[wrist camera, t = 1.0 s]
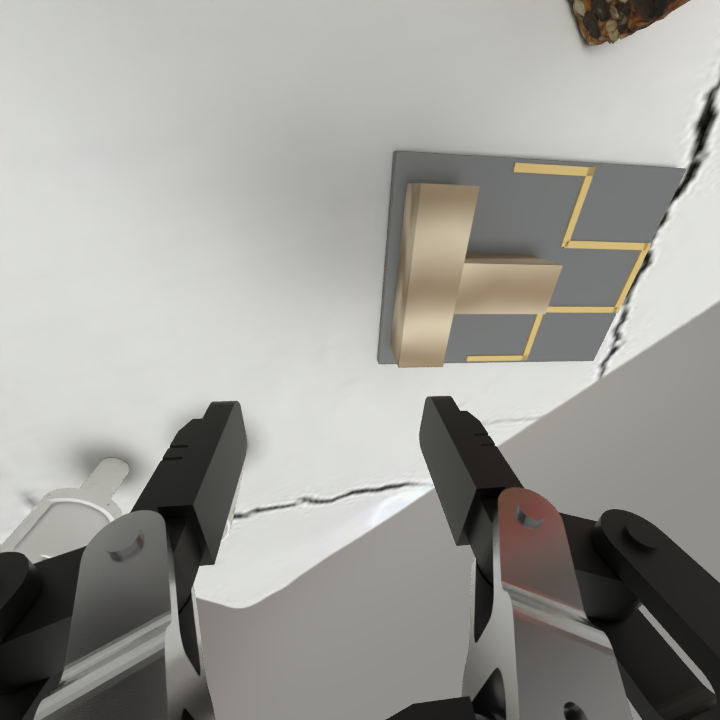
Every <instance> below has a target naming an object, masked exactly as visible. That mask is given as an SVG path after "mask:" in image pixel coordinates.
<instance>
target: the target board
mask: <svg viewBox="0 0 720 720" xmlns="http://www.w3.org/2000/svg"><path fill="white" fill-rule="evenodd" d="M685 171H686V169H683V168H667V167H651V166H634V165H618V164H602V163H586V162H569V161H553V160H537V159H521V158H505V157H488V156H472V155H456V154H440V153H423V152H407V151H395V152H394V158H393V170H392V182H391V195H390V207H389V220H388V232H387V245H386V257H385V269H384V282H383V294H382V307H381V319H380V332H379V344H378V356H377V360H378V363H379V364H397V362H396V360H395V357H394V355H393V352H392V350H391V347H390V344H391V334H392V324H393V314H394V304H395V295H396V285H397V275H398V265H399V255H400V246H401V236H402V226H403V216H404V207H405V197H406V187H407V183H427V184H447V185H467V186H480V188H479V193H478V198H477V203H476V208H475V212H474V217H473V222H472V227H471V232H470V237H469V242H468V246H467V251H466V253H470V254H510V255H534V256H537V257H540V258H543V259H546V260H549V261H551V262H554V263H557V264H560V265H563V267H562V270H561V272H560V275H559V278H558V281H557V283H556V286H555V289H554V292H553V294H552V297H551V300H550V303H549V305H548V308H547V311H546V314H454V315H453V319H452V324H451V329H450V334H449V339H448V344H447V349H446V353H445V358H444V363H487V362H549V361H593V360H594V358H595V356H596V354H597V352H598V350H599V348H600V346H601V344H602V342H603V340H604V338H605V336H606V334H607V332H608V330H609V328H610V325H611V323H612V321H613V319H614V317H615V315H616V313H618V311H619V309H620V307H621V305H622V303H623V301H624V299H625V297H626V295H627V293H628V291H629V289H630V287H631V285H632V282H633V280H634V278H635V276H636V274H637V272H638V270H639V268H640V266H641V264H642V262H643V260H644V258H645V256H646V254H647V252H648V250H649V248H650V246H651V241H652V239H653V237H654V235H655V233H656V231H657V229H658V227H659V224H660V222H661V220H662V218H663V216H664V214H665V212H666V210H667V208H668V206H669V204H670V202H671V200H672V198H673V196H674V194H675V191H676V189H677V187H678V185H679V183H680V181H681V179H682V177H683V175H684V173H685Z"/></svg>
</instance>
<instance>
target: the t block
mask: <svg viewBox="0 0 720 720" xmlns="http://www.w3.org/2000/svg"><path fill="white" fill-rule="evenodd" d="M479 188H480V186H467V185H447V184H427V183H407V187H406V197H405V207H404V216H403V226H402V236H401V246H400V255H399V265H398V275H397V285H396V295H395V304H394V314H393V324H392V334H391V344H390V347H391V350H392V352H393V355H394V357H395V360H396V362H397V365H398V367H399V368H406V367H443V363H444V358H445V353H446V349H447V344H448V339H449V334H450V329H451V324H452V319H453V315H454V314H546V311H547V308H548V305H549V303H550V300H551V297H552V294H553V292H554V289H555V286H556V283H557V281H558V278H559V275H560V272H561V270H562V267H563V265H560V264H557V263H554V262H551V261H549V260H546V259H543V258H540V257H537V256H534V255H510V254H470V253H466V251H467V246H468V242H469V237H470V232H471V227H472V222H473V217H474V212H475V208H476V203H477V198H478V193H479Z"/></svg>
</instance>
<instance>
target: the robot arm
mask: <svg viewBox="0 0 720 720" xmlns="http://www.w3.org/2000/svg"><path fill="white" fill-rule="evenodd" d="M419 440H420V447H421V450H422V453H423V456H424V459H425V461H426V464H427V467H428V470H429V472H430V475H431V478H432V480H433V483H434V486H435V489H436V491H437V494H438V497H439V499H440V502H441V505H442V508H443V510H444V513H445V516H446V519H447V521H448V524H449V526H450V529H451V532H452V535H453V538H454V540H455V543H456V545H457V546H460V545H471V548H472V550H473V553H474V555H475V556H474V558H473V561H472V575H471V576H472V577H471V601H470V602H471V603H470V627H469V647H468V654H467V659H466V664H465V670H464V676H463V684H462V697H460V698H453V699H445V700H438V701H431V702H424V703H416V704H412V705H410V706H409V707H407V708H405V709H403V710H402V711H400V712H398V713H397V714H395V715H393V716H391V717H390V718H388V719H386V720H633V718H632V715H631V711H630V708H629V704H628V700H627V698H628V699H629V701H630V702H631V704H632V705H633V707H634V708H635V710H636V711H637V712H638V714H639V715H640V717H641V718H642V720H720V583H719V582H718V581H717V580H716V579H714V578H713V577H712V576H711V575H710V574H709V573H708V572H707V571H706V570H704V569H703V568H702V567H701V566H700V565H699V564H698V563H697V562H696V561H694V560H693V559H692V558H691V557H690V556H689V555H688V554H687V553H685V552H684V551H683V550H682V549H681V548H680V547H679V546H678V545H677V544H675V543H674V542H673V541H672V540H671V539H670V538H669V537H668V536H667V535H665V534H664V533H663V532H662V531H661V530H659V529H658V528H657V527H656V526H655V525H653V524H652V523H650V522H649V521H647V520H645V519H644V518H642V517H640V516H638V515H636V514H633V513H631V512H627V511H624V510H618V509H613V510H608V511H605V512H604V513H603V514H602V516H601V517H600V519H599V520H598V521H593V520H589V519H584V518H580V517H575V516H571V515H567V514H563V513H559V512H558V511H557V510H556V508H555V507H554V506H553V505H552V504H551V503H550V502H549V501H548V500H547V499H545V498H544V497H542V496H541V495H539V494H537V493H535V492H533V491H531V490H528V489H525V488H524V487H523V486H522V484H521V483H520V481H519V480H518V478H517V477H516V475H515V474H514V472H513V471H512V469H511V468H510V466H509V464H508V463H507V461H505V459H504V457H503V456H502V454H501V452H500V451H499V449H498V448H497V446H495V443H494V442H493V440H492V439H491V437H490V436H488V433H487V431H486V430H485V428H484V427H483V425H482V424H481V422H480V421H479V420H478V419H477V418H475V417H474V416H473V415H472V414H470V413H469V412H468V411H460V410H459V408H458V407H457V405H456V403H455V402H454V400H453V398H452V397H451V396H431V397H427V398H426V400H425V405H424V410H423V416H422V421H421V427H420V433H419ZM246 450H247V439H246V433H245V427H244V422H243V417H242V411H241V406H240V403H239V402H238V401H221V402H211V404H210V405H209V407H208V409H207V411H206V413H205V415H204V417H203V419H192V420H191V421H190V422H189V423H188V424H186V425H185V426H184V427H183V428H182V429H181V430H179V431H178V433H177V434H176V436H175V438H174V440H173V441H172V443H171V445H170V449H168V450H167V451H166V453H165V455H164V456H163V460H162V461H161V462H160V463H159V465H158V467H157V468H156V470H155V472H154V473H153V475H152V477H151V478H150V480H149V482H148V483H147V485H146V487H145V489H144V490H143V492H142V494H141V495H140V497H139V499H138V500H137V502H136V504H135V505H134V507H133V509H132V510H131V512H130V513H128V514H126V515H123V516H121V517H119V518H117V519H115V520H114V521H112V522H111V523H109V524H108V525H106V526H105V527H104V528H102V529H101V530H100V531H99V532H98V533H97V534H96V535H95V536H94V537H93V538H92V540H91V541H90V542H89V544H88V545H87V546H84V547H82V548H79V549H76V550H73V551H70V552H67V553H64V554H61V555H58V556H55V557H52V558H49V559H47V560H43V561H40V562H37V563H34V564H32V563H31V561H30V560H29V559H28V558H27V557H26V556H25V555H24V554H22V553H20V552H3V553H0V720H216V719H215V713H214V708H213V704H212V700H211V696H210V693H209V689H208V685H207V680H206V674H205V666H204V659H203V651H202V643H201V636H200V628H199V621H198V612H197V605H196V597H195V590H194V586H193V583H194V580H195V577H196V574H197V571H198V568H199V566H203V565H214V564H215V560H216V557H217V553H218V550H219V547H220V543H221V540H222V536H223V533H224V529H225V526H226V522H227V519H228V515H229V512H230V509H231V505H232V502H233V498H234V495H235V491H236V488H237V484H238V481H239V477H240V474H241V471H242V467H243V464H244V460H245V456H246ZM642 604H643V605H644V606H645V607H646V608H647V609H648V611H649V612H650V613H651V614H652V615H653V616H654V617H655V619H656V620H657V621H658V622H659V623H660V624H661V625H662V627H663V628H664V629H665V630H666V631H667V632H668V633H669V634H670V636H671V637H672V638H673V639H674V640H675V641H676V642H677V644H678V645H679V646H680V647H681V648H682V649H683V650H684V652H685V653H686V654H687V655H688V656H689V657H690V658H691V660H692V661H693V662H694V663H695V664H696V665H697V666H698V668H699V669H700V670H701V671H702V672H703V674H704V675H705V676H706V677H707V679H708V680H709V682H710V683H711V685H712V687H713V689H714V691H715V694H716V695H715V694H714V693H712V692H711V691H710V690H709V689H707V688H706V687H705V686H704V685H703V684H702V683H701V682H700V681H699V679H698V678H697V677H696V676H695V675H694V674H693V672H692V671H691V670H690V669H689V668H688V667H687V666H686V664H685V663H684V662H683V661H682V660H681V658H679V656H678V655H677V654H676V653H675V652H674V650H673V649H672V648H671V647H670V646H669V645H668V643H667V642H666V641H665V640H664V639H663V637H662V636H661V635H660V634H659V633H658V632H657V630H656V629H655V628H654V627H653V626H652V625H651V623H650V622H649V621H648V620H647V619H646V618H645V617H644V616H643V614H642V613H641V612H640V611H639V609H638V608H639V607H640V606H641V605H642Z"/></svg>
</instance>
